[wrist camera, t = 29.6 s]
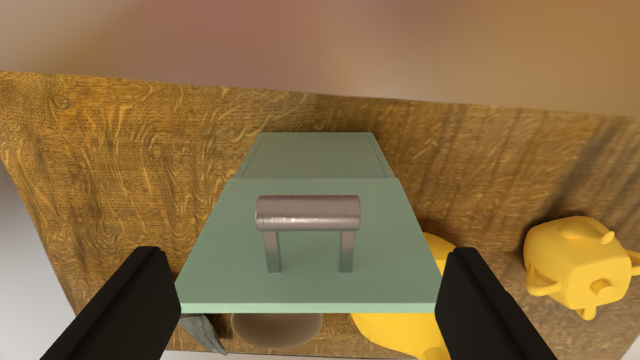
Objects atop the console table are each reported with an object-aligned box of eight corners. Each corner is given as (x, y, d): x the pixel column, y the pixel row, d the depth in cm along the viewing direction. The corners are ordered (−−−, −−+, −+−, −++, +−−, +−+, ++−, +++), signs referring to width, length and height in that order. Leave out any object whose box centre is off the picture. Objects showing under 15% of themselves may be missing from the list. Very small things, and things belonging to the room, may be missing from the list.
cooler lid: (451, 313, 15) (481, 229, 12) (167, 313, 15) (131, 229, 12) (397, 185, 26) (407, 124, 23) (230, 186, 26) (218, 124, 23)
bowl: (282, 310, 53) (274, 366, 44) (230, 268, 49) (209, 321, 40) (337, 277, 50) (341, 331, 41) (286, 229, 45) (278, 277, 36)
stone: (204, 342, 59) (243, 345, 55) (191, 361, 56) (231, 366, 51) (178, 303, 55) (217, 302, 51) (161, 321, 52) (202, 322, 48)
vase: (377, 313, 54) (403, 445, 36) (322, 245, 47) (323, 369, 30) (475, 271, 49) (557, 400, 32) (430, 190, 42) (504, 298, 25)
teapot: (487, 251, 47) (528, 304, 38) (552, 189, 42) (616, 234, 33) (547, 282, 50) (598, 339, 41) (614, 228, 45) (689, 279, 36)
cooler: (366, 208, 44) (384, 277, 31) (267, 208, 44) (246, 277, 31) (372, 131, 38) (396, 179, 26) (259, 132, 38) (230, 179, 26)
